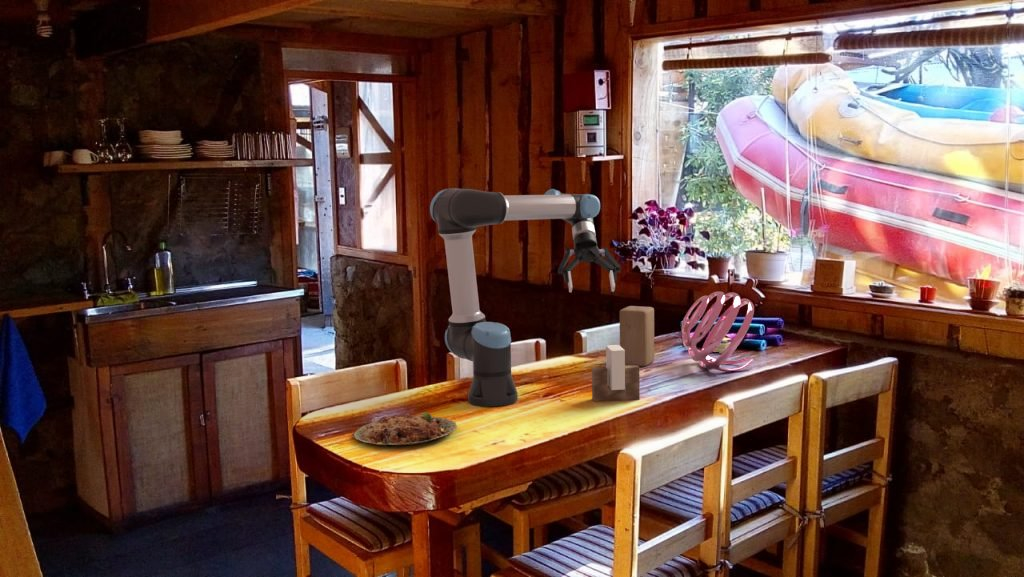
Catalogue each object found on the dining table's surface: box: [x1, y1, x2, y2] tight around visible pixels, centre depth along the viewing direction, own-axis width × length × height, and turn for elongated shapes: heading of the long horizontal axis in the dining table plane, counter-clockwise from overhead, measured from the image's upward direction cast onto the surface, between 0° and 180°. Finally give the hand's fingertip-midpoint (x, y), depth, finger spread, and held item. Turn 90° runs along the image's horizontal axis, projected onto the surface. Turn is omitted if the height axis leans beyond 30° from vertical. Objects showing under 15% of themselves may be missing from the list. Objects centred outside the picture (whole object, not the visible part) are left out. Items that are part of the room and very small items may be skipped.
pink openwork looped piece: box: [681, 291, 755, 373], centre depth 302 cm, size 28×28×27 cm
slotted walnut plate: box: [591, 365, 641, 403], centre depth 267 cm, size 14×3×10 cm, turn 96°
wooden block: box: [619, 305, 655, 367], centre depth 313 cm, size 10×10×20 cm
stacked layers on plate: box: [712, 336, 732, 354], centre depth 329 cm, size 10×9×6 cm
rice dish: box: [352, 411, 458, 446], centre depth 238 cm, size 28×28×5 cm
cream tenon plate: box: [605, 344, 626, 390], centre depth 266 cm, size 4×8×12 cm, turn 6°
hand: (592, 289), depth 278 cm, fingers open, 13 cm apart
